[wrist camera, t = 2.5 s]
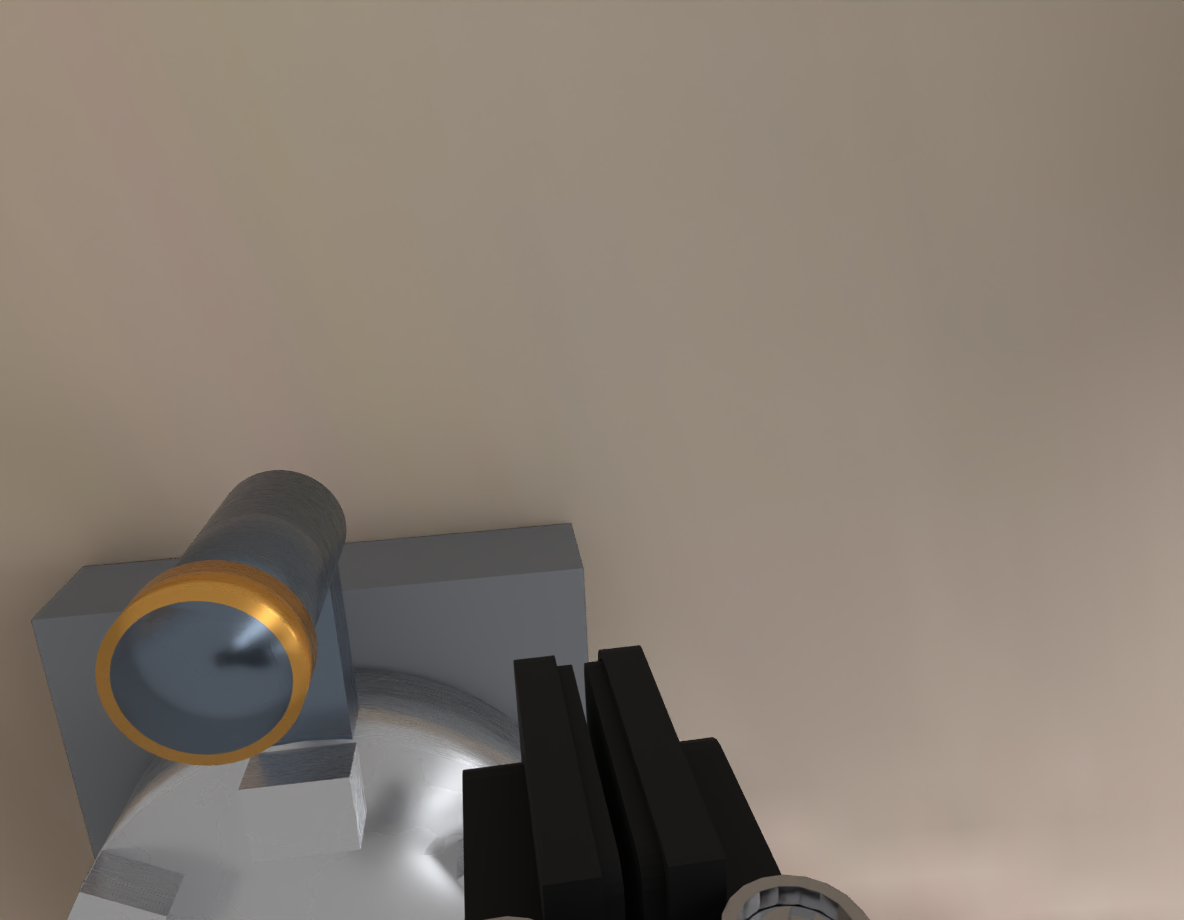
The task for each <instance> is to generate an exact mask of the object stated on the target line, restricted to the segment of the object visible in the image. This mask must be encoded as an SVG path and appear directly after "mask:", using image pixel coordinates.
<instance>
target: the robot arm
mask: <svg viewBox="0 0 1184 920" xmlns="http://www.w3.org/2000/svg"><path fill="white" fill-rule="evenodd" d="M513 663H514V677H515V689H516V701H517V713H518V725H519V737H520V750H521V762H519V763H511V764H504V765H496V766H488V767H480V768H473V769H465V770H463V772H462V792H463V852H464V912H465V920H870V919H869V918H868V917H867V916H866V914H865V913H864V912H863V910H862V909H861V908H860V907H858V906H857V905H856V904H855V903H854V902H853V901H852V900H851V899H850V898H849V897H848V896H847V895H846V894H844V893H842V892H841V891H839V890H837V889H836V888H834V887H832V886H830V885H829V884H827V883H824V882H821V881H817V880H814V879H811V878H808V877H803V876H792V875H781V873H780V870H779V868H778V866H777V864H776V862H775V860H774V858H773V856H772V853H771V851H770V849H769V847H768V845H767V843H766V841H765V839H764V836H763V834H762V832H761V830H760V828H759V826H758V824H757V822H756V820H755V817H754V815H753V813H752V811H751V809H750V807H749V805H748V803H747V800H746V798H745V796H744V794H743V792H742V790H741V788H740V786H739V784H738V781H737V779H736V777H735V775H734V773H733V771H732V769H731V767H730V764H729V762H728V760H727V758H726V756H725V754H724V752H723V750H722V748H721V746H720V744H719V742H718V741H717V739H715V738H713V737H711V738H703V739H696V740H688V741H680V742H679V739H678V737H677V734H676V732H675V729H674V727H673V724H672V722H671V720H670V717H669V715H668V712H667V710H666V707H665V705H664V702H663V700H662V697H661V695H660V692H659V690H658V687H657V685H656V682H655V680H654V677H653V675H652V672H651V670H650V667H649V665H648V662H647V660H646V657H645V655H644V652H643V650H642V648H641V646H639V645H638V646H629V647H621V648H612V649H603V650H599V652H598V661H596V662H587V663H584V682H585V700H586V718H587V723H586V719H585V715H584V711H583V707H582V703H581V699H580V695H579V691H578V686H577V682H576V678H575V674H574V670H573V666H572V664H570V665H562V666H557V664H556V659H555V656H554V655H552V656H543V657H534V658H526V659H517V660H513Z"/></svg>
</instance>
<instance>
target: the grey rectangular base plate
mask: <svg viewBox="0 0 1184 920" xmlns="http://www.w3.org/2000/svg"><path fill="white" fill-rule="evenodd" d="M179 560H180V558H175V559H164V560H153V561H142V562H130V563H119V564H108V565H96V566H85V567H83V568H82V569H81V570H80V571H79V572H78V573H77V574H76V575H75V576H74V577H73V578H72V579H71V580H70V581H69V582H68V583H67V584H66V585H65V586H64V587H63V588H62V589H61V590H60V591H59V592H58V593H57V594H56V595H55V596H54V597H53V598H52V599H51V600H50V601H49V602H48V603H47V604H46V605H45V606H44V607H43V608H42V609H41V610H40V611H39V612H38V613H37V614H36V615H35V616H34V618H33V619H32V620H31V622H32V626H33V629H34V633H35V637H36V641H37V644H38V648H39V652H40V656H41V659H42V663H43V667H44V671H45V674H46V678H47V682H48V686H49V689H50V693H51V697H52V701H53V704H54V708H55V712H56V716H57V719H58V723H59V727H60V731H61V734H62V738H63V742H64V746H65V749H66V753H67V757H68V761H69V764H70V768H71V772H72V776H73V779H74V783H75V787H76V791H77V794H78V798H79V802H80V806H81V809H82V813H83V817H84V821H85V824H86V828H87V832H88V836H89V839H90V843H91V847H92V851H93V854H94V858H95V860H96V858H97V856H98V854H99V853H100V851H101V849H102V847H103V845H104V843H105V842H106V840H107V838H108V836H109V834H110V832H111V831H112V829H113V827H114V825H115V823H116V822H117V820H118V818H119V816H120V814H121V812H122V811H123V809H124V807H125V805H126V803H127V801H128V800H129V798H130V796H131V794H132V792H133V791H134V789H135V787H136V785H137V783H138V781H139V780H140V778H141V776H142V774H143V773H144V771H145V770H146V769H147V767H148V766H149V765H150V763H151V762H152V761H153V759H154V758H155V757H156V755H154V754H152V753H150V752H148V751H146V750H145V749H143V748H141V747H140V746H138V745H137V744H135V743H134V742H132V741H131V740H130V739H129V738H128V737H126V736H125V735H124V734H123V733H122V732H121V731H120V730H119V729H118V728H117V727H116V725H115V724H114V723H113V722H112V720H111V719H110V717H109V716H108V714H107V713H106V711H105V709H104V707H103V705H102V703H101V700H100V697H99V694H98V691H97V686H96V680H95V666H96V659H97V654H98V651H99V648H100V645H101V643H102V641H103V639H104V637H105V635H106V633H107V632H108V630H109V629H110V628H111V626H112V625H113V623H114V622H115V621H116V620H117V618H118V617H119V616H120V615H121V613H122V612H123V611H124V610H125V608H126V607H127V606H128V604H129V603H130V602H131V601H132V599H133V598H134V597H135V596H136V594H137V593H138V592H139V591H140V590H141V589H142V588H143V587H144V586H145V585H146V584H147V583H148V582H150V581H151V580H152V579H154V578H155V577H156V576H158V575H160V574H162V573H163V572H165V571H167V570H169V569H172V568H174V566H175V565H176V564H177V562H178V561H179ZM338 566H339V573H340V579H341V586H342V593H343V600H344V607H345V614H346V621H347V628H348V634H349V641H350V648H351V655H352V662H353V669H365V670H380V671H392V672H398V673H403V674H409V675H414V676H420V677H424V678H427V679H430V680H434V681H437V682H440V683H443V684H447V685H450V686H453V687H455V688H457V689H460V690H462V691H464V692H466V693H469V694H471V695H473V696H475V697H478V698H480V699H481V700H483V701H485V702H486V703H488V704H490V705H491V706H493V707H495V708H496V709H498V710H499V711H501V712H503V713H504V714H506V715H507V716H508V717H509V718H511V719H512V720H513V721H514V722H516V723H517V724H518V713H517V701H516V689H515V677H514V663H513V660H517V659H526V658H534V657H543V656H552V655H554V656H555V659H556V664H557V666H562V665H570V664H572V666H573V670H574V674H575V678H576V682H577V686H578V691H579V695H580V699H581V703H582V707H583V711H584V715H585V719H586V723H587V718H586V700H585V682H584V663H587V662H588V644H587V625H586V606H585V587H584V568H583V565H582V561H581V557H580V553H579V550H578V546H577V542H576V539H575V535H574V531H573V528H572V524H571V523H570V524H559V525H548V526H536V527H525V528H514V529H503V530H491V531H480V532H469V533H457V534H446V535H435V536H424V537H412V538H401V539H390V540H378V541H367V542H356V543H345V544H344V547H343V550H342V553H341V556H340V559H339V562H338Z"/></svg>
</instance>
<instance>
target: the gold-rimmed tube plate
mask: <svg viewBox="0 0 1184 920" xmlns="http://www.w3.org/2000/svg"><path fill="white" fill-rule="evenodd" d="M345 539H346V521H345V516H344V513H343V511H342V508H341V506H340V504H339V502H338V501H337V499H336V498H335V497H334V495H333V494H332V493H331V492H330V491H329V490H328V489H327V488H326V487H325V486H323V485H322V484H321V483H319V482H318V481H316V480H315V479H313V478H311V477H309V476H306V475H304V474H301V473H297V472H293V471H285V470H273V471H266V472H262V473H258V474H255V475H253V476H251V477H249V478H247V479H245V480H243V481H242V482H241V483H239V484H238V485H237V486H236V487H235V488H234V489H233V490H232V491H231V492H230V493H229V495H228V496H227V497H226V499H225V500H224V501H223V503H222V504H221V505H220V507H219V508H218V509H217V511H216V512H215V513H214V515H213V516H212V517H211V519H210V520H209V521H208V523H207V524H206V525H205V527H204V528H203V529H202V531H201V532H200V533H199V535H198V536H197V537H196V539H195V540H194V541H193V543H192V544H191V545H190V546H189V548H188V549H187V550H186V552H185V553H184V554H183V556H182V557H181V558H180V560H179V561H178V562H177V564H176V565H175V566H174V568H172V569H169V570H167V571H165V572H163V573H162V574H160V575H158V576H156V577H155V578H154V579H152V580H151V581H150V582H148V583H147V584H146V585H145V586H144V587H143V588H142V589H141V590H140V591H139V592H138V593H137V594H136V596H135V597H134V598H133V599H132V601H131V602H130V603H129V604H128V606H127V607H126V608H125V610H124V611H123V612H122V613H121V615H120V616H119V617H118V618H117V620H116V621H115V622H114V623H113V625H112V626H111V628H110V629H109V630H108V632H107V633H106V635H105V637H104V639H103V641H102V643H101V645H100V648H99V651H98V654H97V659H96V666H95V680H96V686H97V691H98V694H99V697H100V700H101V703H102V705H103V707H104V709H105V711H106V713H107V714H108V716H109V717H110V719H111V720H112V722H113V723H114V724H115V725H116V727H117V728H118V729H119V730H120V731H121V732H122V733H123V734H124V735H125V736H126V737H128V738H129V739H130V740H131V741H132V742H134V743H135V744H137V745H138V746H140V747H141V748H143V749H145V750H146V751H148V752H150V753H152V754H154V755H156V757H155V758H154V759H153V761H152V762H151V763H150V765H149V766H148V767H147V769H146V770H145V771H144V773H143V774H142V776H141V778H140V780H139V781H138V783H137V785H136V787H135V789H134V791H133V792H132V794H131V796H130V798H129V800H128V801H127V803H126V805H125V807H124V809H123V811H122V812H121V814H120V816H119V818H118V820H117V822H116V823H115V825H114V827H113V829H112V831H111V832H110V834H109V836H108V838H107V840H106V842H105V843H104V845H103V847H102V849H101V851H100V853H99V854H98V856H97V858H96V860H95V862H94V864H93V865H92V867H91V869H90V871H89V873H88V875H87V877H86V878H85V880H84V882H83V884H82V886H81V888H80V891H79V894H78V896H77V899H76V901H75V903H74V906H73V908H72V910H71V912H70V915H69V917H68V919H67V920H465V912H464V852H463V792H462V772H463V770H465V769H473V768H480V767H488V766H496V765H504V764H511V763H519V762H521V750H520V737H519V725H518V724H517V723H516V722H514V721H513V720H512V719H511V718H509V717H508V716H507V715H506V714H504V713H503V712H501V711H499V710H498V709H496V708H495V707H493V706H491V705H490V704H488V703H486V702H485V701H483V700H481V699H480V698H478V697H475V696H473V695H471V694H469V693H466V692H464V691H462V690H460V689H457V688H455V687H453V686H450V685H447V684H443V683H440V682H437V681H434V680H430V679H427V678H424V677H420V676H414V675H409V674H403V673H398V672H392V671H380V670H365V669H353V662H352V655H351V648H350V641H349V634H348V628H347V621H346V614H345V607H344V600H343V593H342V586H341V579H340V573H339V566H338V562H339V559H340V556H341V553H342V550H343V547H344V544H345Z"/></svg>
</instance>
